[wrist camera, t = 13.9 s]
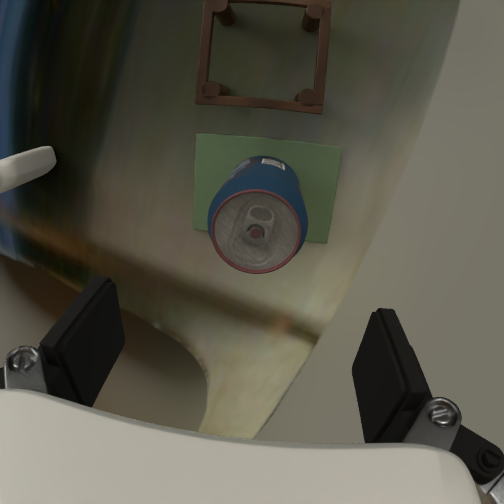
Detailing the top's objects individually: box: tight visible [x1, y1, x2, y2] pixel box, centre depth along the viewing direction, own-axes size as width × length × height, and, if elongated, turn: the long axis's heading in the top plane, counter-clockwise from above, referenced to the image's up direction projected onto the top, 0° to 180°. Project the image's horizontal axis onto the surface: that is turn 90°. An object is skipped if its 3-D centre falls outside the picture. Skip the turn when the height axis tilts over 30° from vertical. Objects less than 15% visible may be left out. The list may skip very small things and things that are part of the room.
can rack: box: [195, 0, 331, 115], centre depth 24 cm, size 10×10×5 cm
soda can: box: [207, 156, 308, 274], centre depth 26 cm, size 7×7×12 cm
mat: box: [193, 133, 342, 243], centre depth 32 cm, size 14×10×1 cm
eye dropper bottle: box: [0, 146, 56, 193], centre depth 27 cm, size 4×6×12 cm
